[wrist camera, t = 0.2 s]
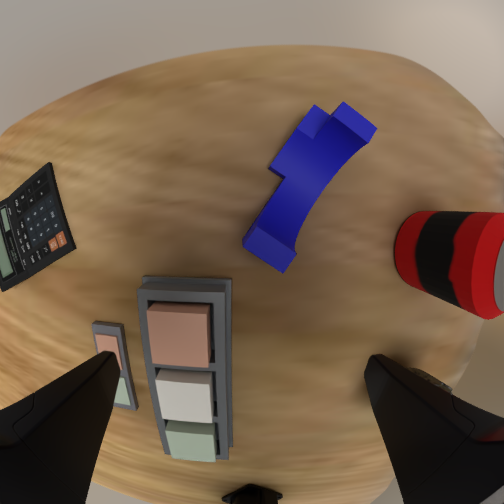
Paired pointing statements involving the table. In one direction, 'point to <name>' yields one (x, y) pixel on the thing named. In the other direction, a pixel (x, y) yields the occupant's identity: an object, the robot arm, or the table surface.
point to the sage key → (192, 440)
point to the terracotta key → (180, 333)
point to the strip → (114, 340)
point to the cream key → (185, 395)
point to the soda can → (455, 258)
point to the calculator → (32, 229)
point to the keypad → (220, 360)
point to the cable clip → (304, 178)
